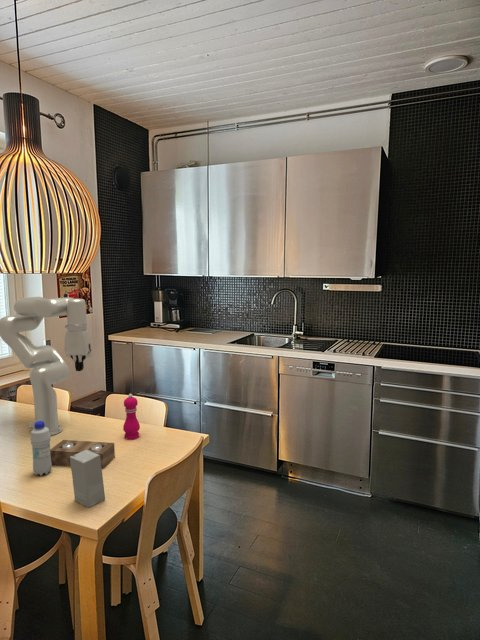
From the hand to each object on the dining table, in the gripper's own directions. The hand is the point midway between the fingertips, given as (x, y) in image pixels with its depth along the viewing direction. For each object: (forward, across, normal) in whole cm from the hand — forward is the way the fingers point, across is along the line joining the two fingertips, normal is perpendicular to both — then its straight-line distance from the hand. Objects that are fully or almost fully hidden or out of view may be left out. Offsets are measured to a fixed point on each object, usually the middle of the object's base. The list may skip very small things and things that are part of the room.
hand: (79, 370), depth 179 cm
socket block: (+32, +9, -17) cm, 37 cm away
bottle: (+32, -1, -28) cm, 43 cm away
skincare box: (+32, +25, -43) cm, 59 cm away
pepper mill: (+32, +19, +8) cm, 38 cm away
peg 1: (+32, +3, -17) cm, 36 cm away
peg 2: (+32, +15, -17) cm, 39 cm away
